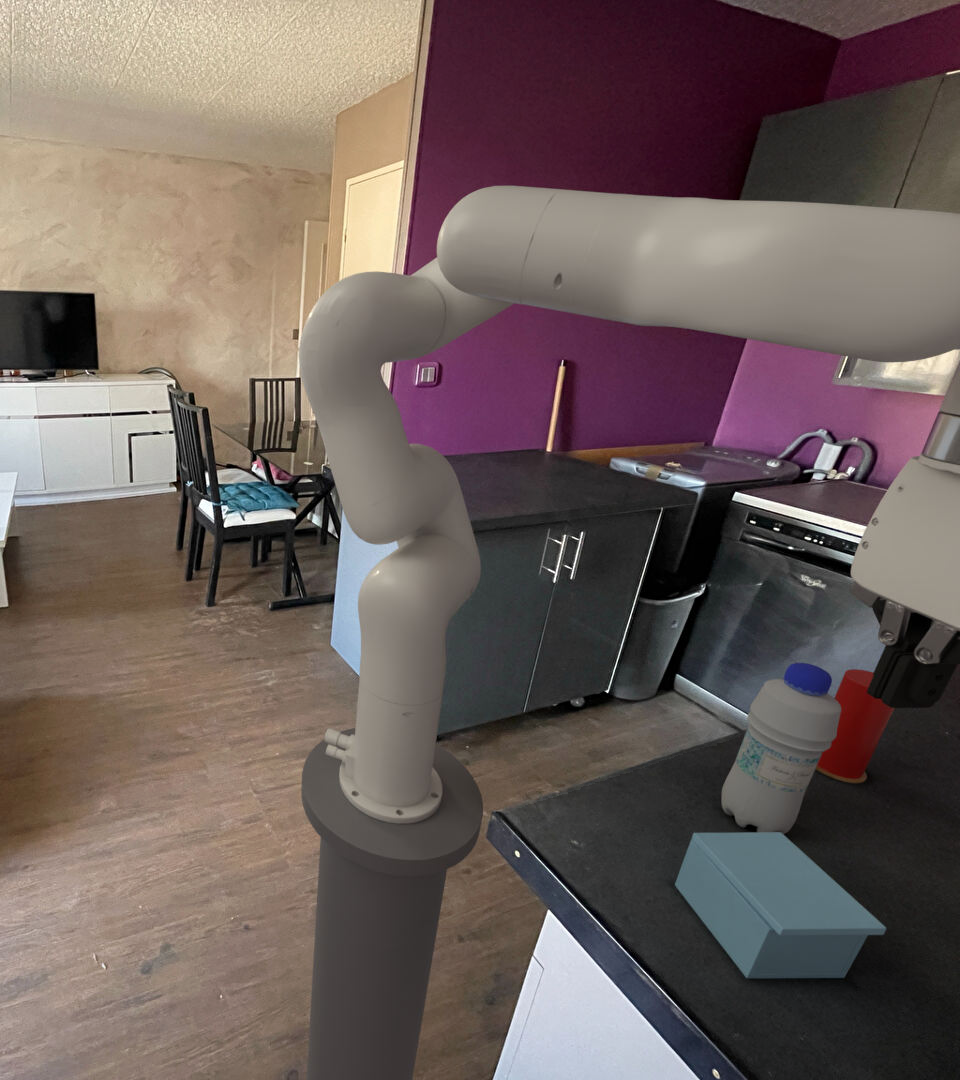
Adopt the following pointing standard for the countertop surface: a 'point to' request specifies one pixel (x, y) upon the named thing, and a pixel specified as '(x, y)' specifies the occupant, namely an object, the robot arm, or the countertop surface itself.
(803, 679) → the bottle
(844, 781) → the coaster
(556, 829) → the countertop surface
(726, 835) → the cooler lid
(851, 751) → the can
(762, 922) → the box
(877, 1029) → the countertop surface
